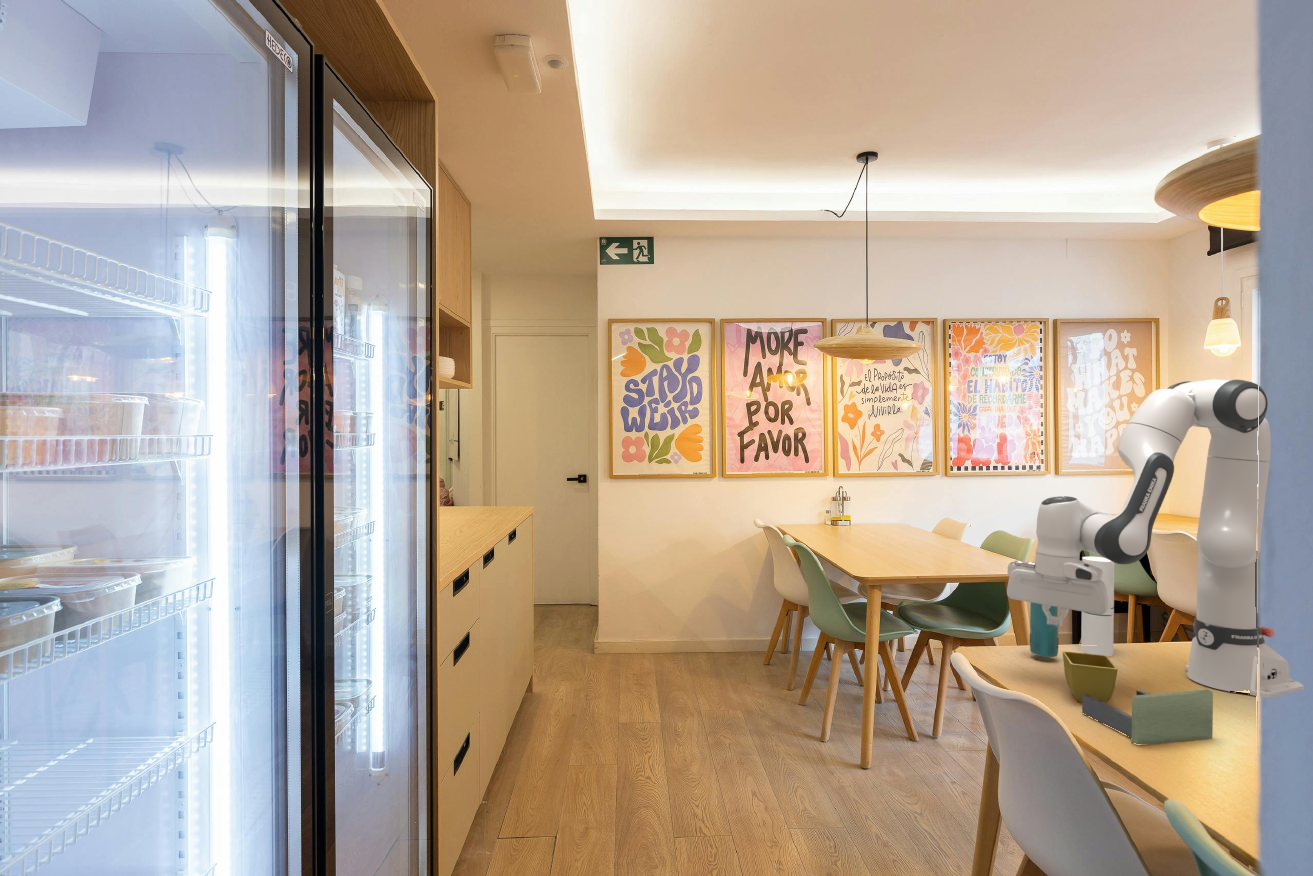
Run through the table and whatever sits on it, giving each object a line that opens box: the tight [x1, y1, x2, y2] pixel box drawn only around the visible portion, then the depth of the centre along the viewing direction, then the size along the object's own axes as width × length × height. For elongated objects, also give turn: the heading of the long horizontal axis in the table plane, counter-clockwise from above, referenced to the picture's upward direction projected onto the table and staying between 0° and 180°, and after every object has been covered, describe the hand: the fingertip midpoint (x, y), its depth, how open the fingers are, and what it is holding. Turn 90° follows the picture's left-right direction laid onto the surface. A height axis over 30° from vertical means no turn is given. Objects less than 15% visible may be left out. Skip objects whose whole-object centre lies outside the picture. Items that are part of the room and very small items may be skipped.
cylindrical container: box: [1080, 556, 1115, 658], centre depth 179 cm, size 7×7×25 cm
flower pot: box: [1062, 650, 1119, 704], centre depth 147 cm, size 9×9×9 cm
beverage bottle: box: [1029, 602, 1060, 658], centre depth 174 cm, size 6×7×20 cm
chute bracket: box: [1081, 689, 1214, 745], centre depth 134 cm, size 17×14×9 cm
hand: (1054, 625), depth 157 cm, fingers closed
